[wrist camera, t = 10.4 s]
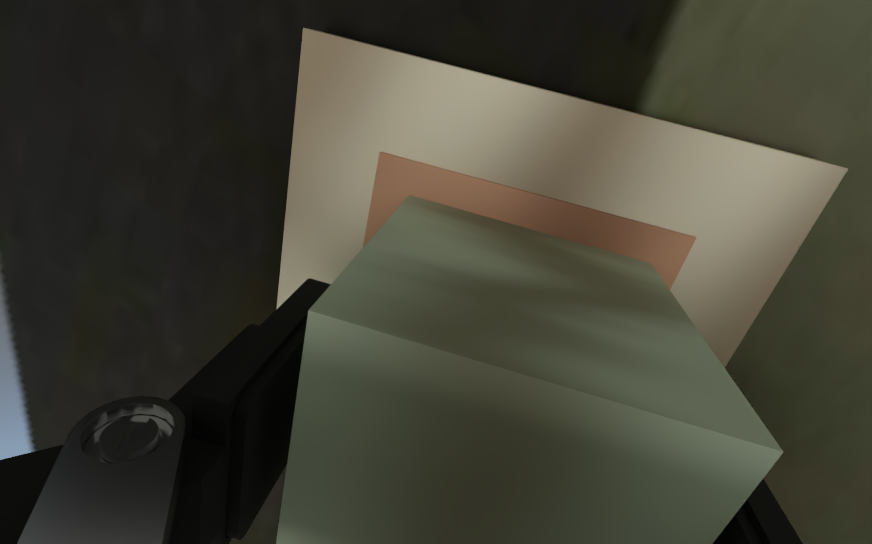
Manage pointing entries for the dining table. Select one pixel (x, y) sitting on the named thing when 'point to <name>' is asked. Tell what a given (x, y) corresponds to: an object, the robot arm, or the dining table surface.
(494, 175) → the board
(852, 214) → the dining table surface
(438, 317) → the sage block
